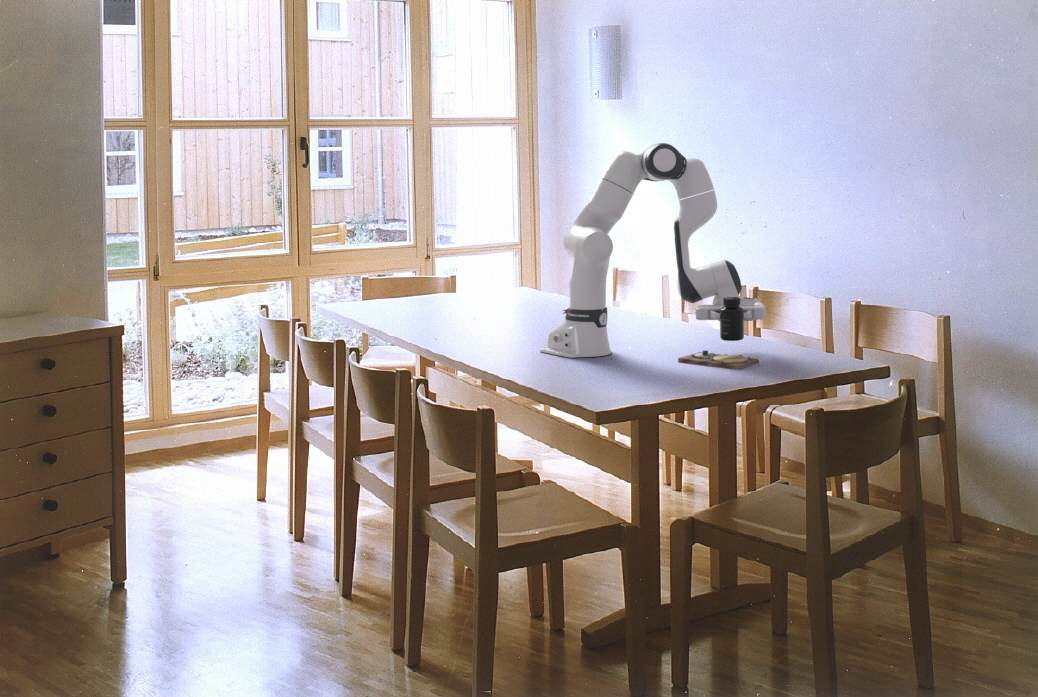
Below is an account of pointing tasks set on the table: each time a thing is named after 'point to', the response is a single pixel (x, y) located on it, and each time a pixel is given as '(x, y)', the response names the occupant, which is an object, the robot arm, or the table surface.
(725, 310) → the supplement bottle
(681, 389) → the table surface
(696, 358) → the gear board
